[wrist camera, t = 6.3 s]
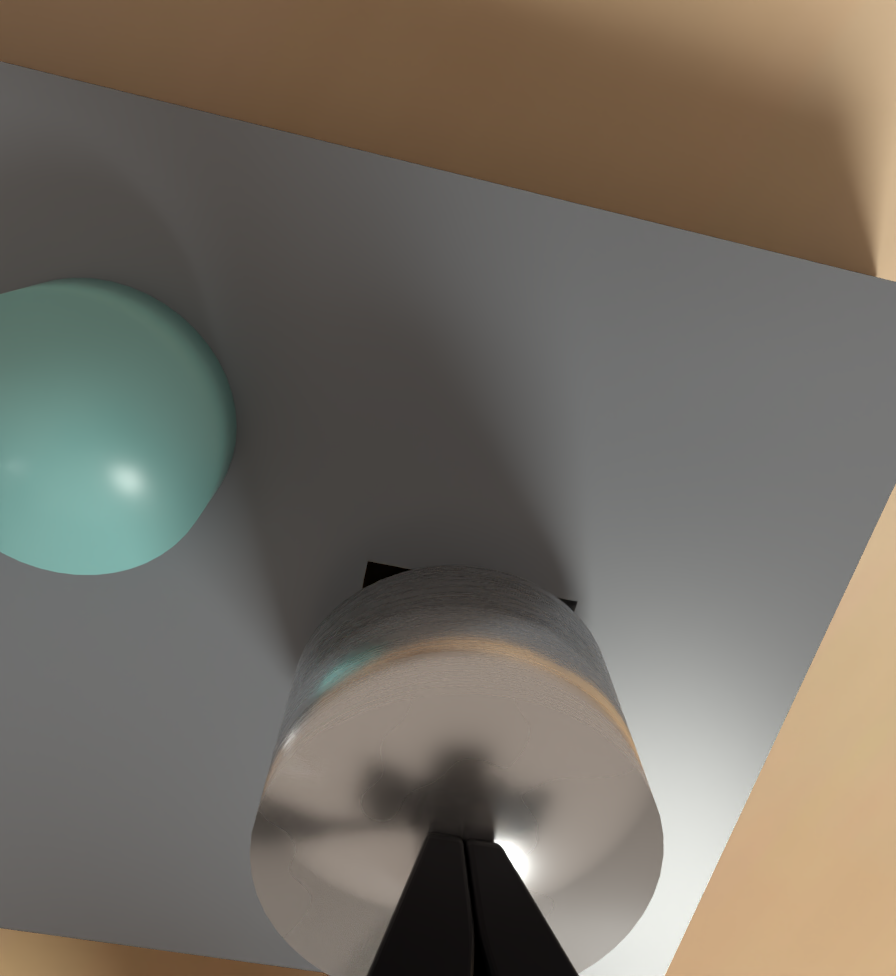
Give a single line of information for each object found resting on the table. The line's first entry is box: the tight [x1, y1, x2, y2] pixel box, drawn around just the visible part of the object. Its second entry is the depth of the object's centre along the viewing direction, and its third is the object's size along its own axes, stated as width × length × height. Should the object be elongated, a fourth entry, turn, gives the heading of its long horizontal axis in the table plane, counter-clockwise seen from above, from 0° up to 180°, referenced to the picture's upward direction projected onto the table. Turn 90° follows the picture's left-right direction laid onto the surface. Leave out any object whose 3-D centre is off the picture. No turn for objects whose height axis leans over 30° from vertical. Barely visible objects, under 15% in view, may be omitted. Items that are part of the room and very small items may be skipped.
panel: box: [0, 61, 896, 976], centre depth 13 cm, size 22×14×2 cm, turn 77°
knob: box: [250, 565, 664, 976], centre depth 11 cm, size 5×5×6 cm
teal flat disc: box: [0, 278, 237, 575], centre depth 10 cm, size 4×4×1 cm
